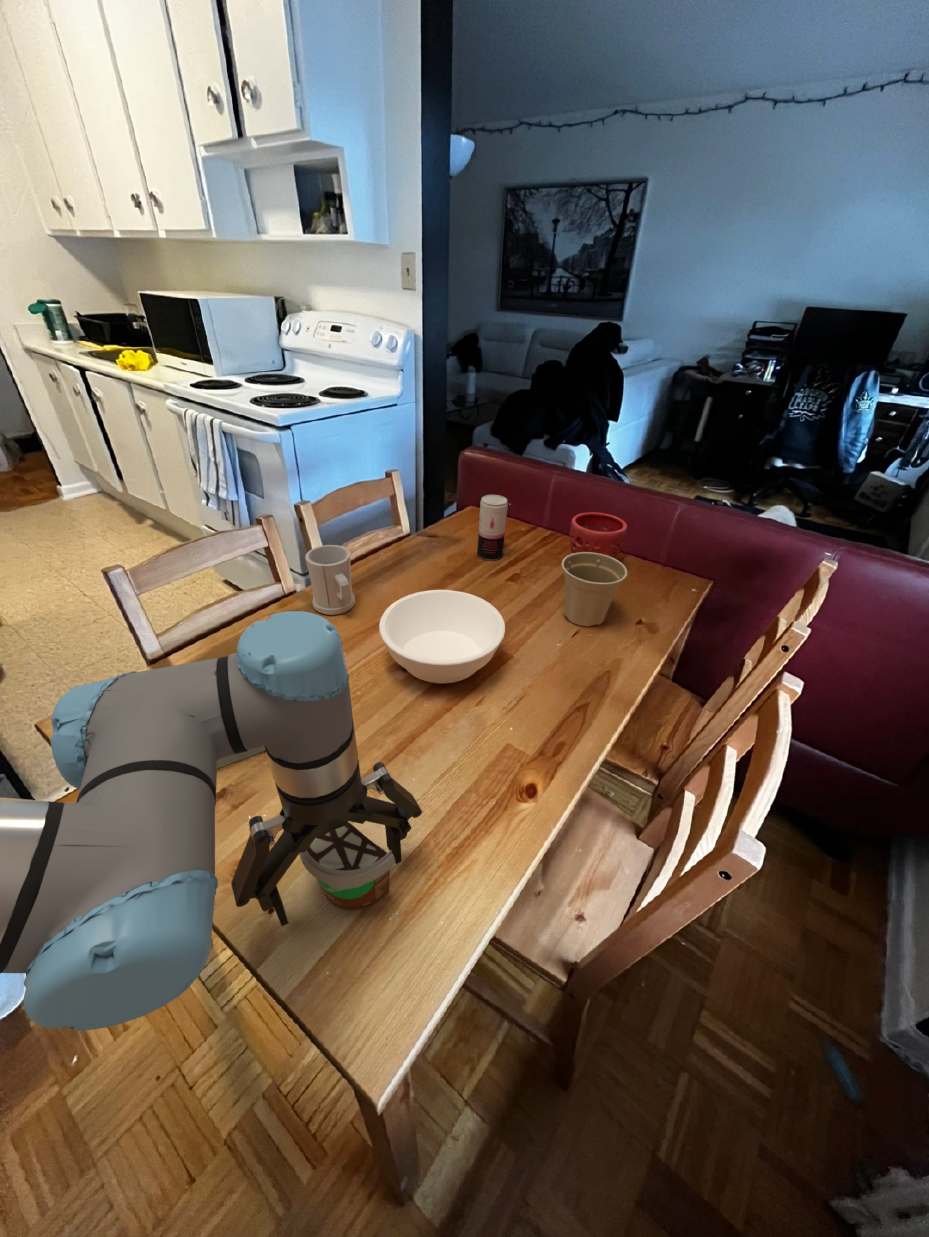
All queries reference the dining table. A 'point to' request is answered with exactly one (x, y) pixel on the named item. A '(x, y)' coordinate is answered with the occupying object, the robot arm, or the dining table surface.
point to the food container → (349, 868)
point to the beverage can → (492, 526)
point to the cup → (330, 579)
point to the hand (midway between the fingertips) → (341, 882)
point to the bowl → (442, 634)
